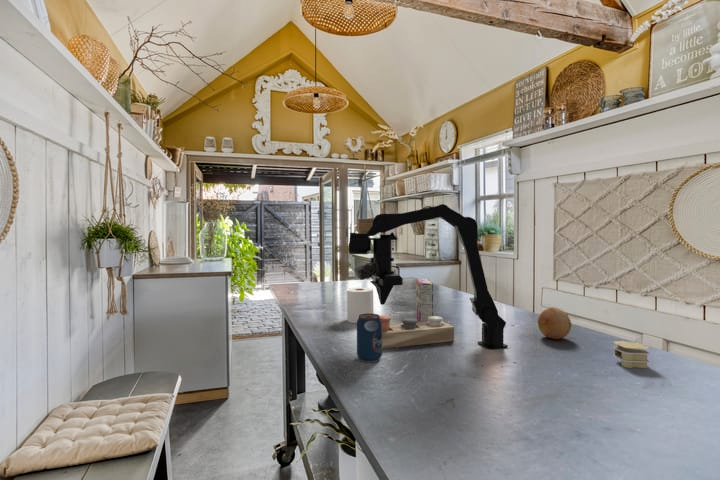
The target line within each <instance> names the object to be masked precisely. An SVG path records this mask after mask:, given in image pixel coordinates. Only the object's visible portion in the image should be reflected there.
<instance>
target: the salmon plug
mask: <svg viewBox="0 0 720 480" xmlns="http://www.w3.org/2000/svg"><path fill="white" fill-rule="evenodd" d="M379 316H380V317H379V318H380V320H381V322H382V331H390V324H391V323H390V321H391V320H392V317H391V316H390V315H379Z"/></svg>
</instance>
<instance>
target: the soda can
mask: <svg viewBox="0 0 720 480" xmlns="http://www.w3.org/2000/svg"><path fill="white" fill-rule="evenodd" d="M380 316H381V315H380V314H376V313H373V314H370V313H369V314H361V315H359V318H358V320H357V323H356V356H357V358H359V360H360V361H361V362H363V363H365V362H366V363H374V362H378V361H380V359H381V357H382V356H383V349H382V322H381V320H380V318H379V317H380Z"/></svg>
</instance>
